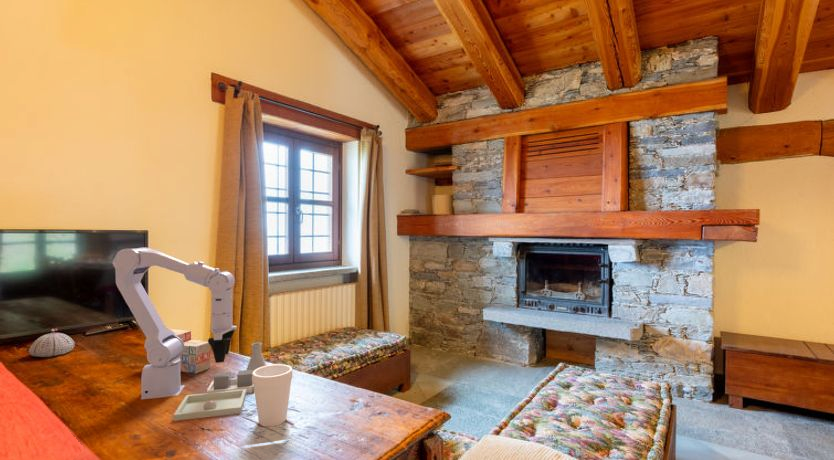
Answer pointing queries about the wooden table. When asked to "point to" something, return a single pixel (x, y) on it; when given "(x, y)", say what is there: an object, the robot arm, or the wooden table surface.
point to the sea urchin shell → (51, 345)
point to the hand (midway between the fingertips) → (222, 358)
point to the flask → (256, 357)
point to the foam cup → (272, 393)
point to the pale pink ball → (210, 405)
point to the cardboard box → (193, 353)
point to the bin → (224, 406)
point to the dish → (233, 387)
